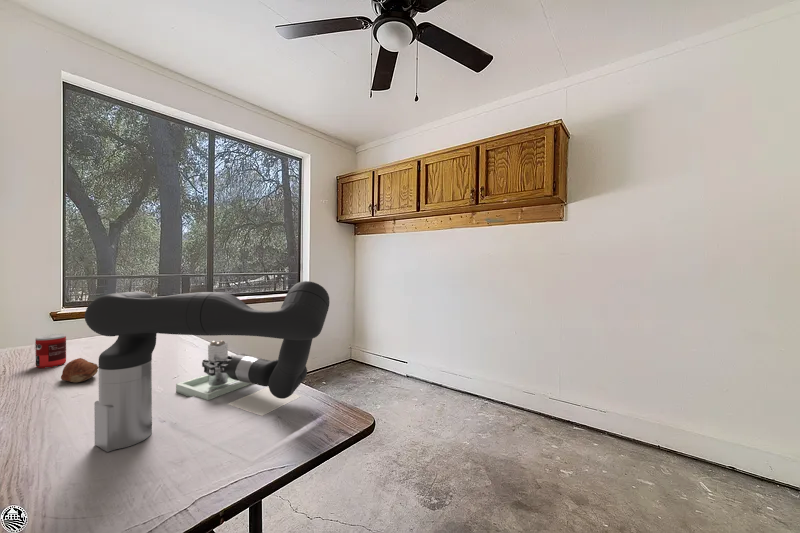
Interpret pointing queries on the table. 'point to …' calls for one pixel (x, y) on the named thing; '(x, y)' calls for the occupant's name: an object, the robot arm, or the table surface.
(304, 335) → the robot arm
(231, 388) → the tray
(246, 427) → the table surface
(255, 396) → the board
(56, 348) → the canned food
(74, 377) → the bread roll
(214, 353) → the cup
